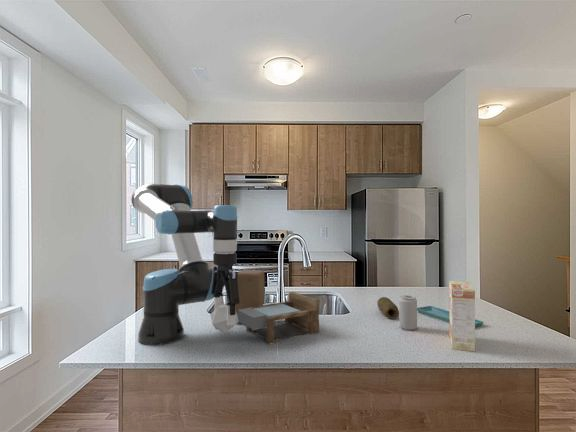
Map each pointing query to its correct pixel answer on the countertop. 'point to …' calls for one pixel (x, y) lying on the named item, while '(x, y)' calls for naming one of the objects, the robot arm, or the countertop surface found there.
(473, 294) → the coffeecake box
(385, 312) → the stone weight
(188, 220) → the robot arm
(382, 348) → the countertop surface
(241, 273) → the wooden block
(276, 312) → the gray rectangular slab
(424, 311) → the teal serving tray
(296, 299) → the frame
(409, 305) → the beverage can
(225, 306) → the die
